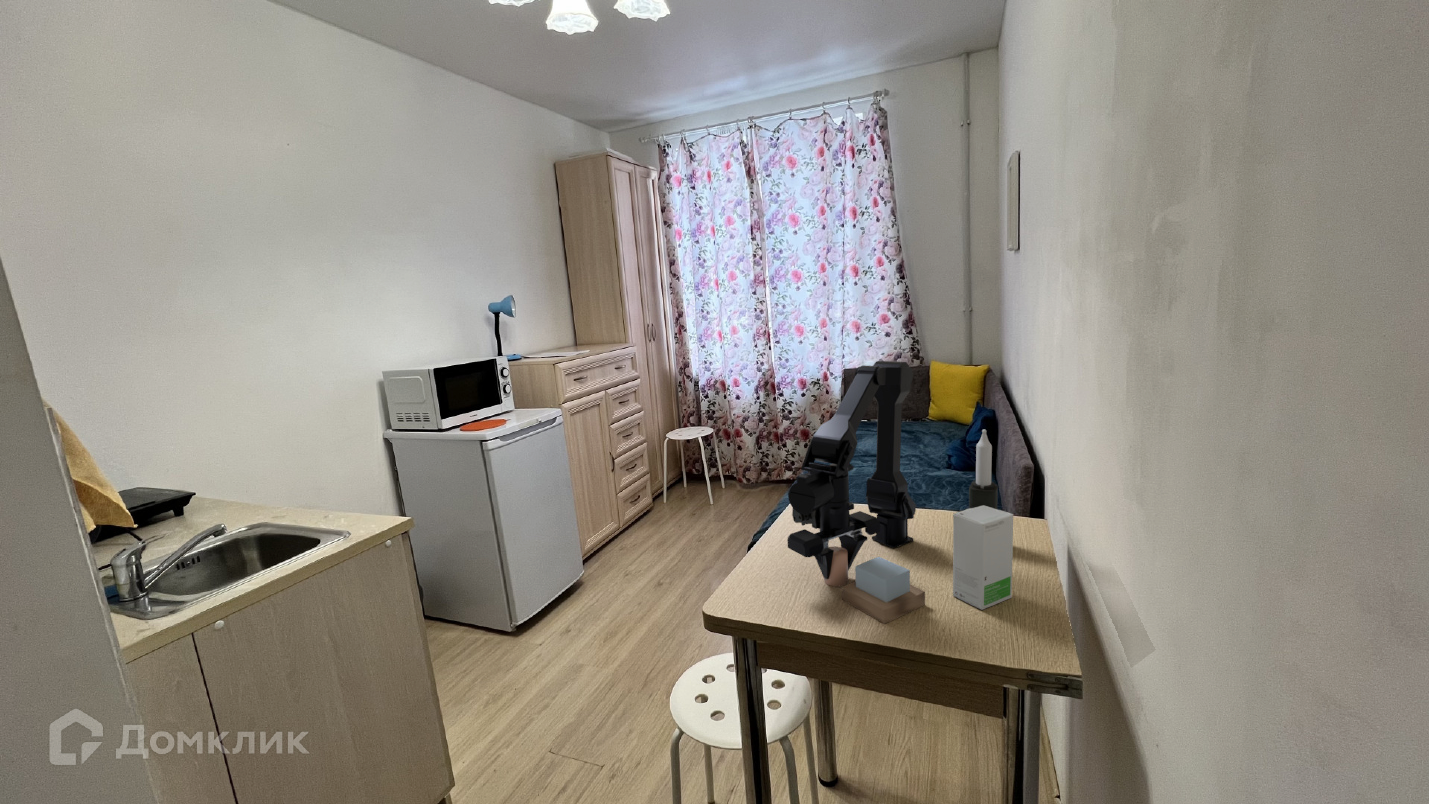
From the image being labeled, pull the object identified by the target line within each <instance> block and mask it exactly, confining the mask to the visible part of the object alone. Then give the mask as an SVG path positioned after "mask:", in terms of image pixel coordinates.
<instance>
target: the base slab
mask: <svg viewBox="0 0 1429 804" xmlns="http://www.w3.org/2000/svg"><path fill="white" fill-rule="evenodd" d="M841 587H842V588H841V591H842V592H841V593H842V595H841V596H842V599H841V600H842V601H844V602H846V603H848V604H849V605H850V606H852V607H853V608H856V609H858V610H860V611H861V612H863V613H865V614H867V615H868V616H869V617H871V618H873V619H875V620H877V621H878V622H880V623H881V624H884V625H885V624H887V623H889V622H892V621H895V620H896V619H898V618H900V617H902V616H904V615H907V614H909V613H910V612H911V613H912V612H913V611H915V610H917V609H919V608H922V607H923V606H926V591H925V590H922V589H921V588H919V587H916V586H915V585H912V584H910V591H909V592H907V593H905V594H903V595H901V596H899V597H897V598H895V599H893V600H891V601H889V602H887V603H886V602H884V601H882V600H880V599H879V598H877V597H875V596H873V595H871V594H869V593H867V592H865V591H863V590H861V589H859V588H857V587H856V580H855V581H853V582H851V583H847V584H846V585H844V586H841Z"/></svg>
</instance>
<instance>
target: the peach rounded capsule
mask: <svg viewBox="0 0 1429 804" xmlns="http://www.w3.org/2000/svg"><path fill="white" fill-rule="evenodd" d="M828 548H830V549H832V550H834V552H833V559H832V565H831V572H830V576H829V579H825V578H824V577H823V582H824V583H825V584H826V585H828V586H831V587H843V586H846V585H848V584H849V571H848V551H847V550H846V549H845V548H842V547H841V546H835V545H834V546H828Z"/></svg>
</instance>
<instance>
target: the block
mask: <svg viewBox="0 0 1429 804" xmlns="http://www.w3.org/2000/svg"><path fill="white" fill-rule="evenodd" d="M854 570H855V571H854V573H855V581H856V587H857V588H859V589H861V590H863V591H865V592H867V593H869V594H871V595H873V596H875V597H877V598H879V599H880V600H882V601H884V602H886V603H887V602H889V601H891V600H893V599H895V598H897V597H899V596H901V595H903V594H905V593H907V592H909V591H910V585H911V580H910V579H911V574H910V573H911V571H910V569H908V568H906V567H904V566H901V565H899V564H897V563H894V562H893V561H889V559H885V558H883V557H880V556H877V557H874V558H872V559H869V560H867V561H865V562H862V563H860V564H857V565H855V569H854Z"/></svg>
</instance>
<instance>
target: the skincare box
mask: <svg viewBox="0 0 1429 804" xmlns="http://www.w3.org/2000/svg"><path fill="white" fill-rule="evenodd" d="M952 516H953V517H952V518H953V519H952V521H953V532H952V533H953V541H952V543H953V546H952V547H953V549H952V550H953V552H952V557H953V558H952V562H953V563H952V596H953V597H955V598H957V599H958V600H961V601H962V602H965V603H966V604H969V605H970V606H972V607H974V608H977V609H979V610H985V609H987V608H990V607H993V606H995V605H997V604H999V603H1002V602H1004V601H1007V600H1009V599H1011V598H1012V597H1013V550H1014V547H1013V546H1014V545H1013V544H1014V543H1013V542H1014V516H1015V515H1014V514H1013V513H1012V512H1007V511H1005V510H1001V509H998V508H997V509H994V508H991V507H988V506H984V505H983V506H979V507H975V508H969V507H968V508H966V509H965V510H961V511H958V512H954V513H953V514H952Z"/></svg>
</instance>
